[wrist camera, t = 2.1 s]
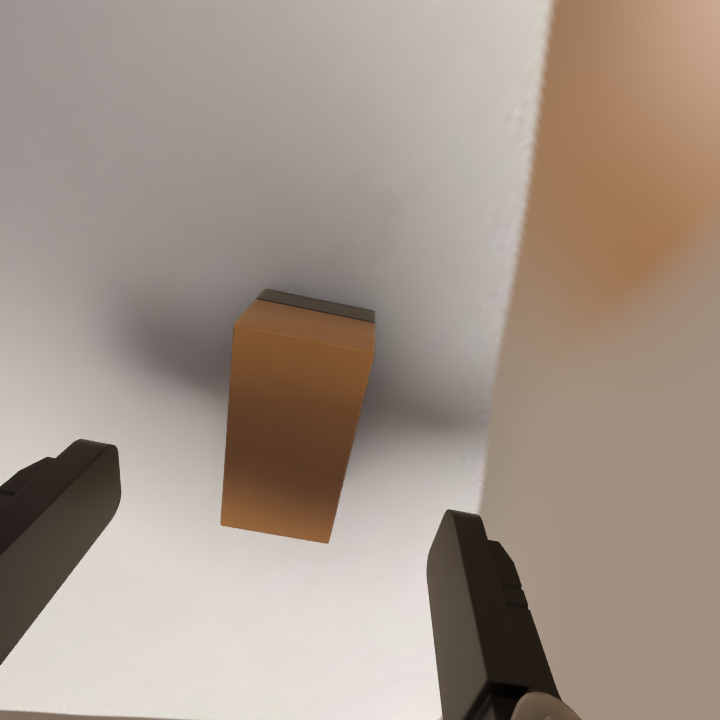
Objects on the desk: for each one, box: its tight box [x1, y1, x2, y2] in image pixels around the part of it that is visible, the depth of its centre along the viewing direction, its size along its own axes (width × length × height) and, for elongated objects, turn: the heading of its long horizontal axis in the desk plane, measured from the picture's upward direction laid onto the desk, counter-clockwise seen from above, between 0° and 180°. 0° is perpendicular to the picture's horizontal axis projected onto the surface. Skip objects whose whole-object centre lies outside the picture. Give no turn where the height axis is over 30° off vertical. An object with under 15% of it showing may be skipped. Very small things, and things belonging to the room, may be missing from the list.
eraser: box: [221, 289, 375, 544], centre depth 13 cm, size 7×4×3 cm, turn 169°
